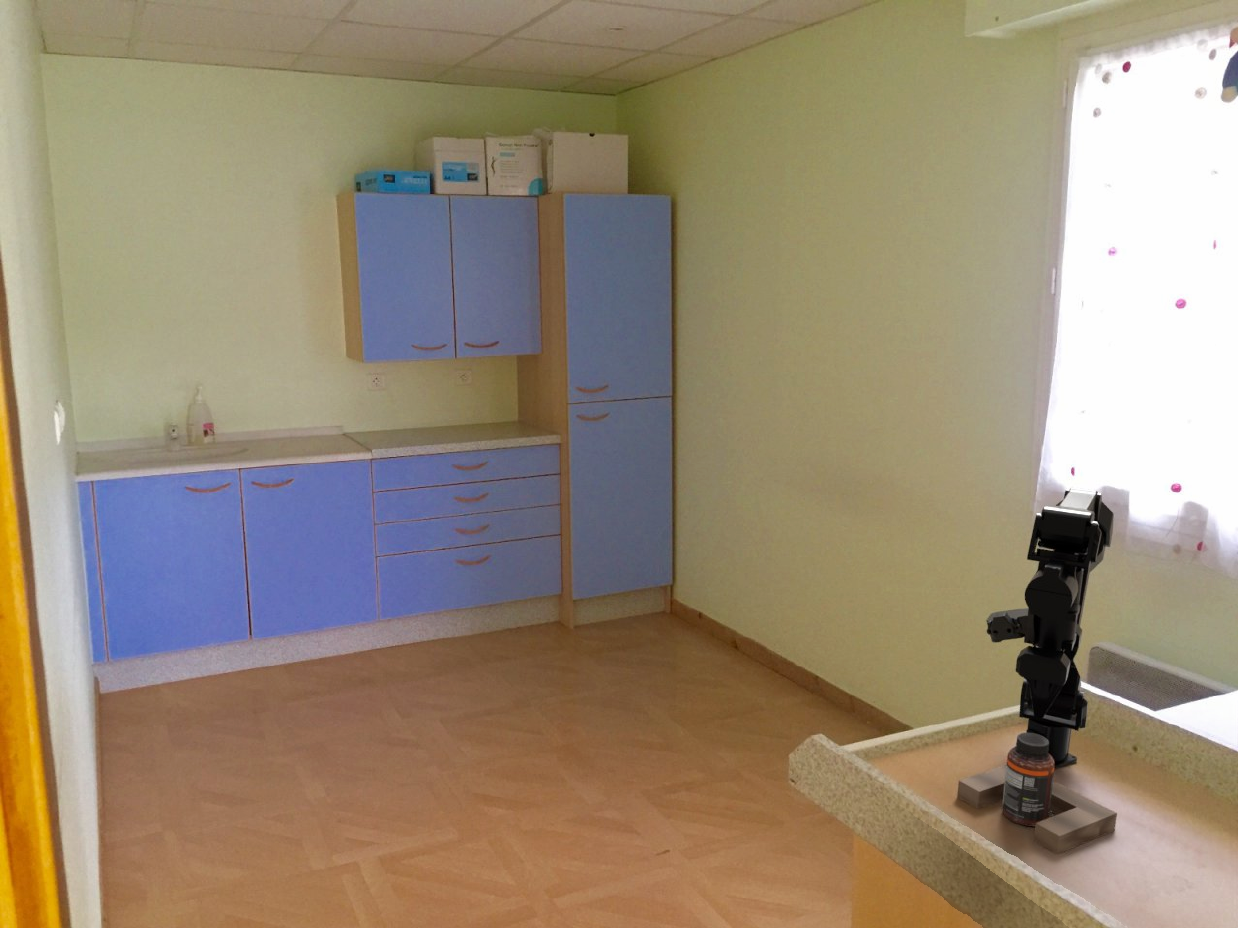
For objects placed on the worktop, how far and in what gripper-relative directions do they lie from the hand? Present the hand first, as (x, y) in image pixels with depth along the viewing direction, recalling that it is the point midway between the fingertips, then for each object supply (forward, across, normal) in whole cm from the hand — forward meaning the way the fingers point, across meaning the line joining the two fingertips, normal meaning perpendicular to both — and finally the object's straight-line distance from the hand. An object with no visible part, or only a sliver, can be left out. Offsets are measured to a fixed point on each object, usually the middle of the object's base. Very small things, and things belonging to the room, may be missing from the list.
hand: (1043, 705), depth 145 cm
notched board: (+13, +6, +1) cm, 14 cm away
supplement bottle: (+13, +8, 0) cm, 15 cm away
